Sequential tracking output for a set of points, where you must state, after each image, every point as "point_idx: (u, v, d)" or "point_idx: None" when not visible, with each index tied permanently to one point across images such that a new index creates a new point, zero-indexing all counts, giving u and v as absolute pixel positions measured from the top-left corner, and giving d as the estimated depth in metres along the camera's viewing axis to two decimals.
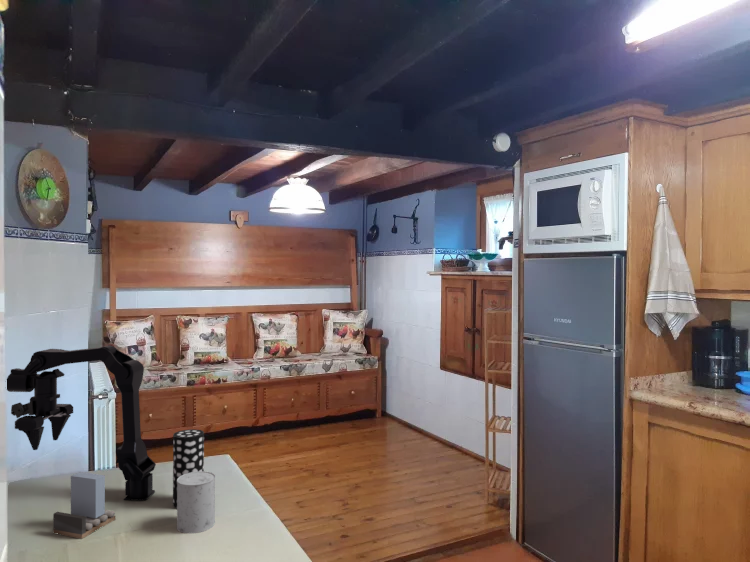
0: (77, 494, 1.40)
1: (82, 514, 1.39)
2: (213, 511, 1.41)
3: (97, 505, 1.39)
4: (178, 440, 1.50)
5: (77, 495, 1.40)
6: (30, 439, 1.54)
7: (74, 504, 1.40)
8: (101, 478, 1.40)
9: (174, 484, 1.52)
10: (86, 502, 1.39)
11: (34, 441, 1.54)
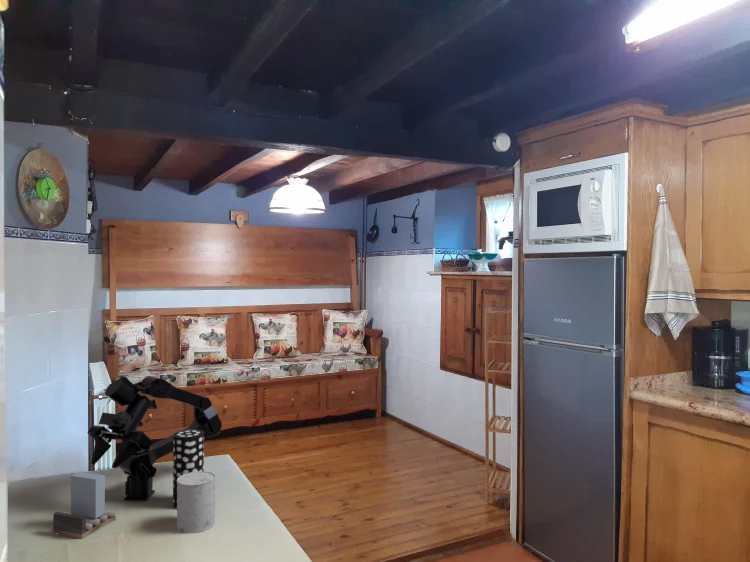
0: (77, 494, 1.40)
1: (82, 514, 1.39)
2: (213, 511, 1.41)
3: (97, 505, 1.39)
4: (178, 440, 1.50)
5: (77, 495, 1.40)
6: (122, 455, 1.46)
7: (74, 504, 1.40)
8: (101, 478, 1.40)
9: (174, 484, 1.52)
10: (86, 502, 1.39)
11: (122, 459, 1.47)
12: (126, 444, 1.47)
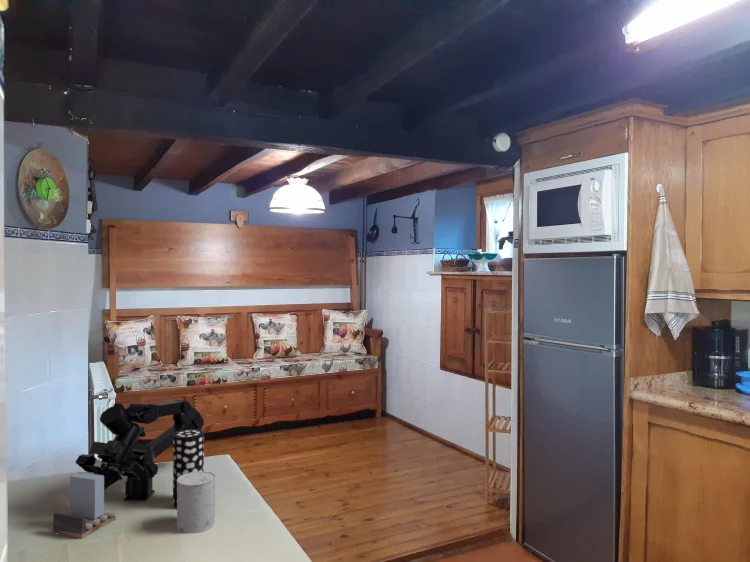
0: (76, 494, 1.39)
1: (81, 514, 1.39)
2: (213, 511, 1.41)
3: (97, 505, 1.38)
4: (178, 440, 1.50)
5: (76, 495, 1.39)
6: None
7: (73, 504, 1.40)
8: (100, 479, 1.39)
9: (174, 484, 1.52)
10: (85, 502, 1.39)
11: None
12: (107, 473, 1.44)
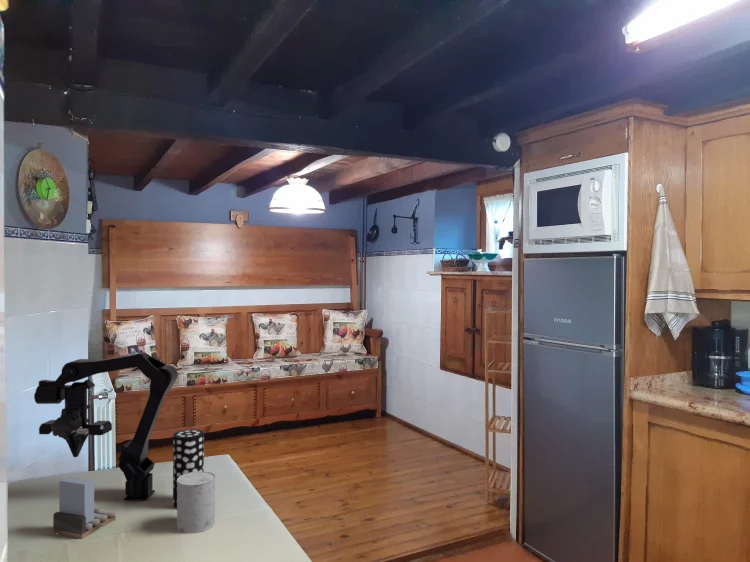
0: (66, 499, 1.36)
1: None
2: (213, 511, 1.41)
3: (87, 510, 1.35)
4: (178, 440, 1.50)
5: (65, 500, 1.36)
6: (79, 446, 1.57)
7: (63, 510, 1.37)
8: (90, 483, 1.36)
9: (174, 484, 1.52)
10: (74, 508, 1.35)
11: (80, 447, 1.58)
12: (79, 438, 1.55)
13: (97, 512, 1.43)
